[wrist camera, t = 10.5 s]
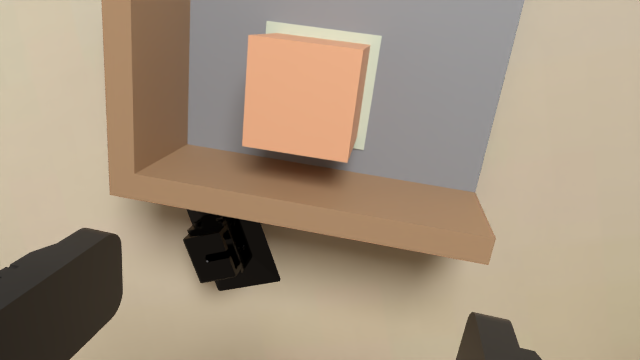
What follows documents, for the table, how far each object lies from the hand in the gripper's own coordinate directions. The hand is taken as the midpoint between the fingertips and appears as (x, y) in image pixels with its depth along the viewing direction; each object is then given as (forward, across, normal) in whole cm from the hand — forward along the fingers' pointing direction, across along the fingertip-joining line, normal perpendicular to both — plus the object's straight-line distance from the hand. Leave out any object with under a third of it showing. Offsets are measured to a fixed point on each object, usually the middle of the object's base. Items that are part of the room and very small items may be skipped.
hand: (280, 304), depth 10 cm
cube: (+21, +4, -2) cm, 21 cm away
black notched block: (+23, +9, +11) cm, 27 cm away
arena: (+22, +3, -3) cm, 23 cm away
